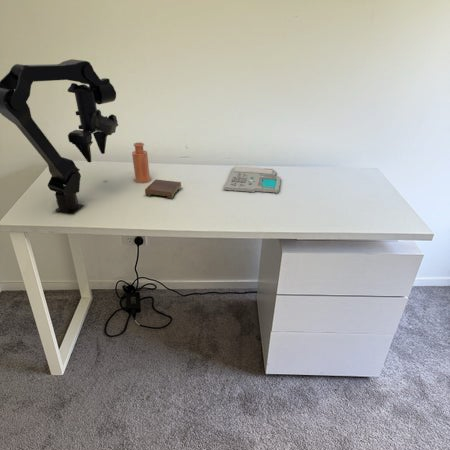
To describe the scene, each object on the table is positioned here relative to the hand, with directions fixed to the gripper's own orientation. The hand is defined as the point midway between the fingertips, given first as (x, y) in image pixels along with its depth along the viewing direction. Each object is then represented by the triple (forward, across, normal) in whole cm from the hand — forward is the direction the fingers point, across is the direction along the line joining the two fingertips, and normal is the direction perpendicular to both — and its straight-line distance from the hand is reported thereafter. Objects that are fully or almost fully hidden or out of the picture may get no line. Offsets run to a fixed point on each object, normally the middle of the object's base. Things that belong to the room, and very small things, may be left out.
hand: (96, 157), depth 129 cm
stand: (+13, +8, -20) cm, 25 cm away
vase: (+13, +17, -8) cm, 23 cm away
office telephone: (+13, +28, -50) cm, 59 cm away
